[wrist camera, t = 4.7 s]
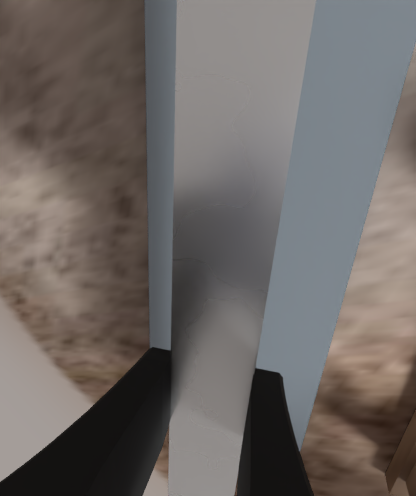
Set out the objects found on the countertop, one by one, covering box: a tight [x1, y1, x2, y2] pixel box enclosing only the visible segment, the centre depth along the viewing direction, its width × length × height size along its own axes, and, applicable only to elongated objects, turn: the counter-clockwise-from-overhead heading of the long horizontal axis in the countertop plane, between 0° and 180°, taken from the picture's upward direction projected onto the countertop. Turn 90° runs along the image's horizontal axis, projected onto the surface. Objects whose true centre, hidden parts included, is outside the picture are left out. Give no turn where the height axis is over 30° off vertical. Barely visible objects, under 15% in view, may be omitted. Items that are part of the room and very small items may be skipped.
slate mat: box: [144, 0, 416, 451], centre depth 15 cm, size 20×8×1 cm, turn 176°
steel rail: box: [168, 0, 316, 496], centre depth 10 cm, size 18×2×2 cm, turn 176°
